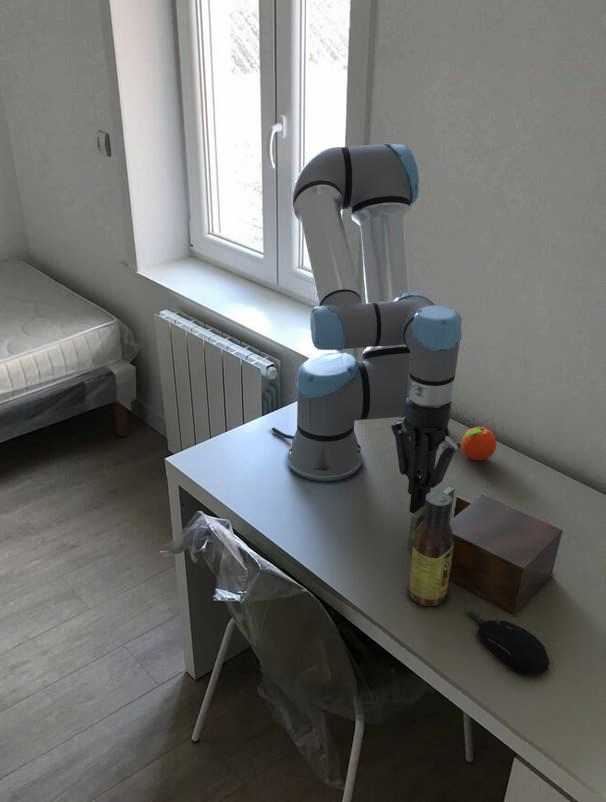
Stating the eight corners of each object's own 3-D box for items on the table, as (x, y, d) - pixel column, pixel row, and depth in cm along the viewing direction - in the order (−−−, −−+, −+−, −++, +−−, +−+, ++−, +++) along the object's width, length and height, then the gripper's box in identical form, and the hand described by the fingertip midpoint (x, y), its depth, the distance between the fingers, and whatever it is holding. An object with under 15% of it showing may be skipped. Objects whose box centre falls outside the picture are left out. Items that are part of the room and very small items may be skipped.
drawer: (401, 547, 139) (405, 512, 135) (438, 517, 146) (443, 483, 141) (475, 586, 130) (482, 550, 126) (511, 552, 137) (518, 517, 132)
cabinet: (435, 572, 135) (441, 528, 129) (474, 537, 142) (482, 494, 136) (513, 614, 126) (523, 568, 120) (551, 574, 133) (563, 530, 127)
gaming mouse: (484, 608, 127) (488, 590, 125) (557, 667, 116) (562, 649, 114) (455, 622, 125) (458, 604, 123) (527, 685, 114) (531, 667, 112)
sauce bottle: (446, 610, 127) (461, 514, 116) (407, 606, 128) (418, 510, 117) (445, 583, 132) (459, 488, 121) (408, 579, 134) (418, 485, 122)
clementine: (465, 470, 159) (470, 441, 155) (448, 452, 165) (452, 424, 161) (500, 463, 161) (505, 434, 157) (482, 446, 166) (487, 417, 162)
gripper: (384, 394, 133) (376, 504, 147) (450, 419, 125) (435, 534, 139) (410, 379, 138) (400, 487, 151) (475, 402, 130) (458, 515, 143)
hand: (416, 510), depth 145 cm, fingers closed
